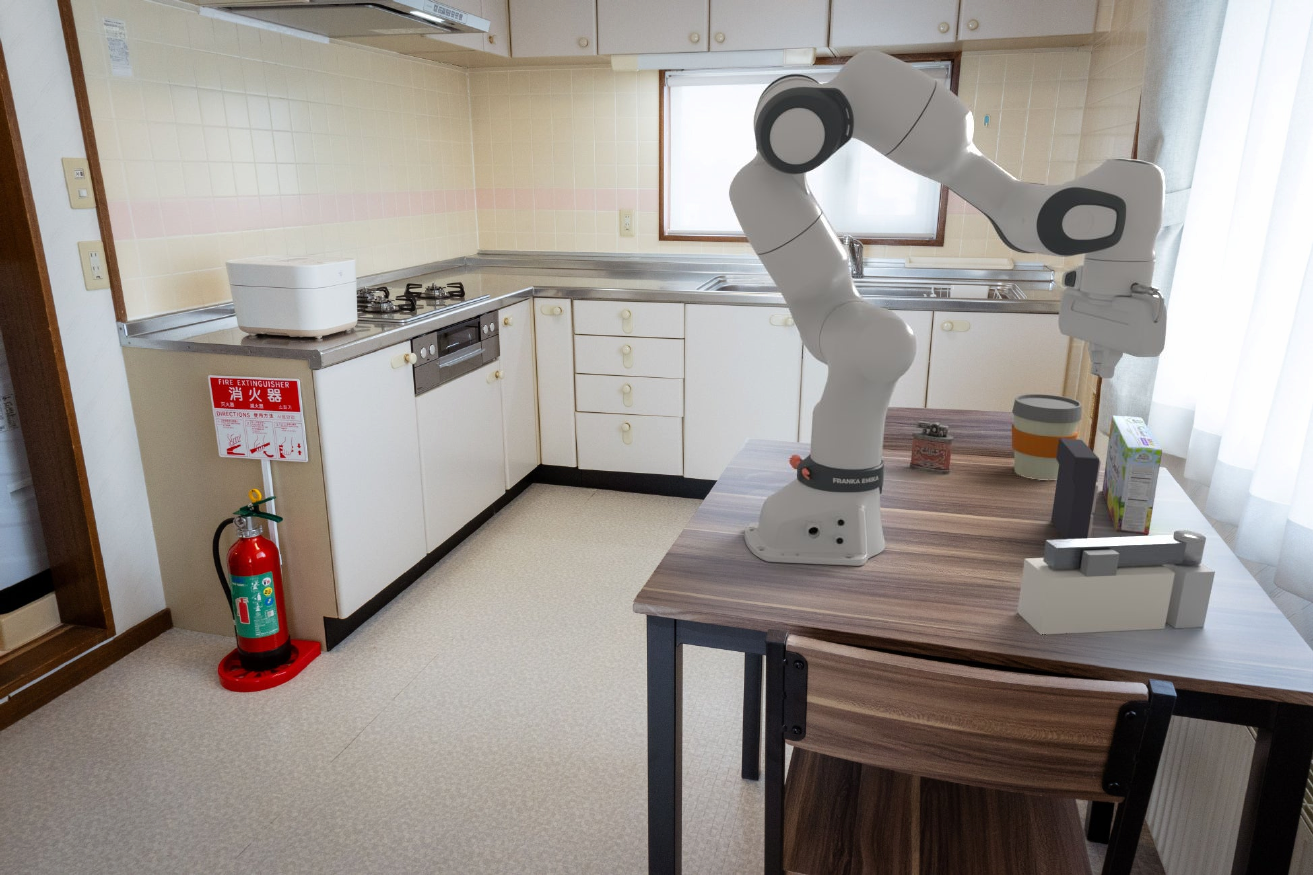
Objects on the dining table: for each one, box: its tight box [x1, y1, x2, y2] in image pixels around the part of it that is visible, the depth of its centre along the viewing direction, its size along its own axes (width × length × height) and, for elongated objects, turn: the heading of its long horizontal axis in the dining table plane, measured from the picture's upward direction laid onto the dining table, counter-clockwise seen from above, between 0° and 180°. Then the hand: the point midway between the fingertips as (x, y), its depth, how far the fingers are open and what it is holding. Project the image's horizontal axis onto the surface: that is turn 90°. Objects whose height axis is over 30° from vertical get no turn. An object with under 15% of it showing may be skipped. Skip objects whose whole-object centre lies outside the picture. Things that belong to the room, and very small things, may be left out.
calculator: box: [1050, 438, 1102, 540], centre depth 141 cm, size 11×4×15 cm, turn 168°
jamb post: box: [1163, 562, 1216, 629], centre depth 114 cm, size 4×6×8 cm, turn 5°
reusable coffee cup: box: [1011, 393, 1083, 480], centre depth 170 cm, size 13×13×15 cm
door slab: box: [1017, 549, 1175, 636], centre depth 113 cm, size 17×6×11 cm, turn 95°
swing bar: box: [1043, 529, 1207, 569], centre depth 112 cm, size 21×4×3 cm, turn 96°
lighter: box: [909, 420, 955, 476], centre depth 173 cm, size 8×3×10 cm, turn 58°
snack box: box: [1101, 415, 1163, 535], centre depth 151 cm, size 21×6×15 cm, turn 160°
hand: (1101, 376), depth 125 cm, fingers closed
